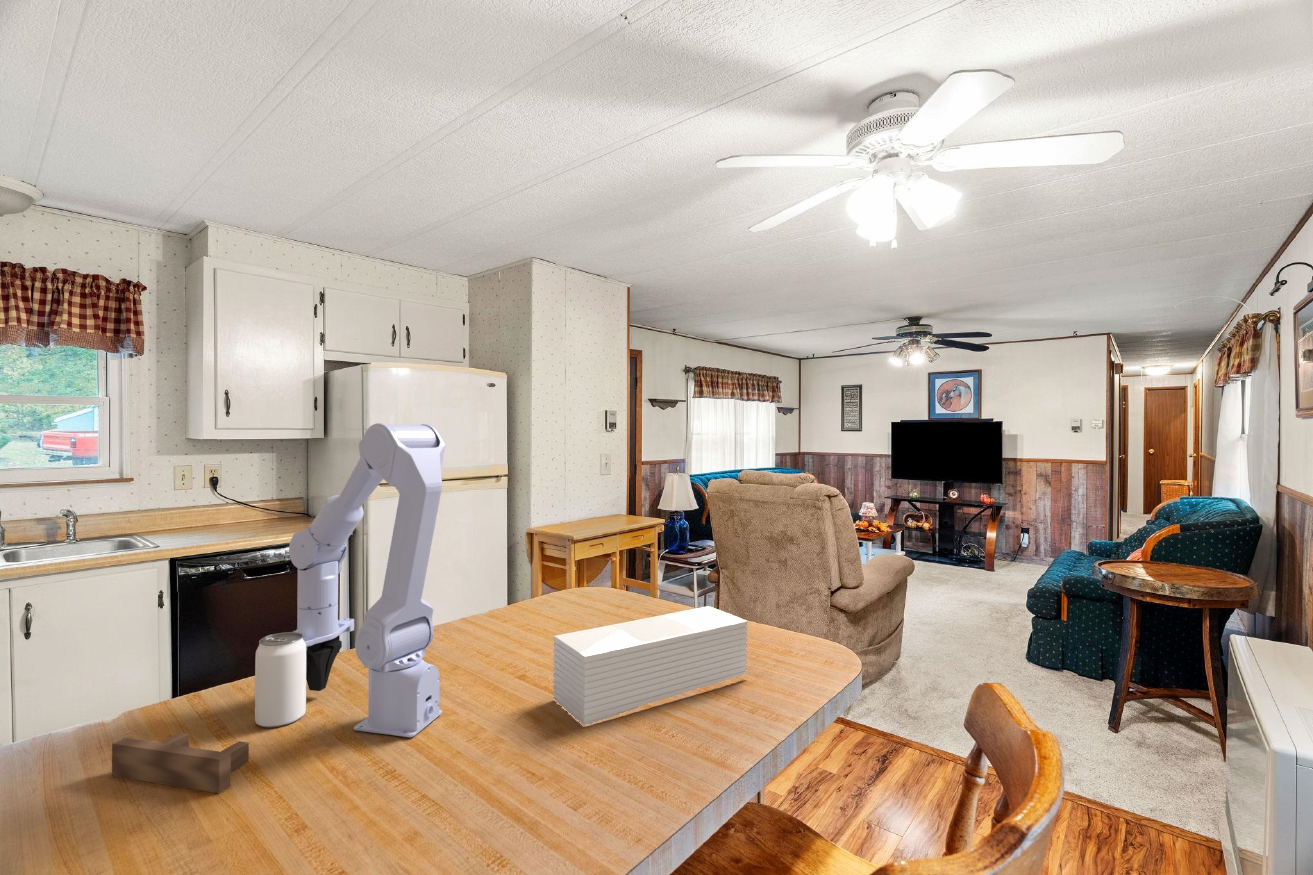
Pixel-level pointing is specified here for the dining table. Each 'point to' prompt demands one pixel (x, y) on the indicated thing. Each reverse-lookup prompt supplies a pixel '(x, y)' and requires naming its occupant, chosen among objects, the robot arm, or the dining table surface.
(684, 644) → the stack of papers
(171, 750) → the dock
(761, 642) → the dining table surface
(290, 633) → the can
